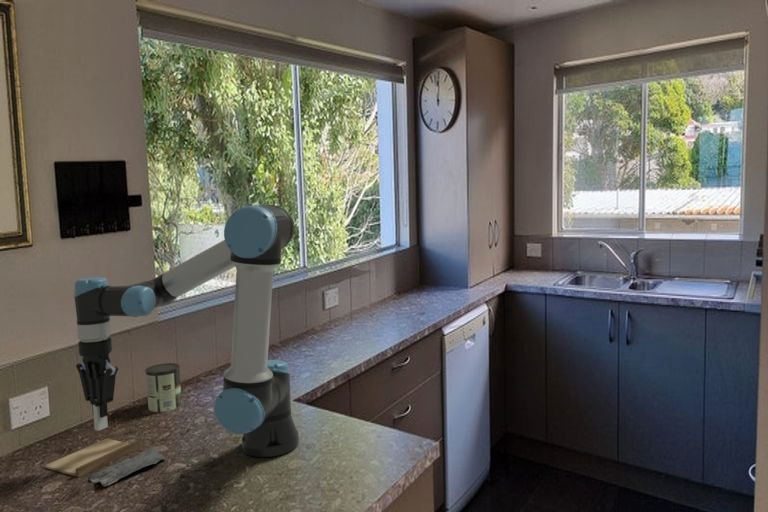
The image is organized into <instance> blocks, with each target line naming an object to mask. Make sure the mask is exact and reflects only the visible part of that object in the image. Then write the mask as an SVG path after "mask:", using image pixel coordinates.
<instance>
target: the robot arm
mask: <svg viewBox="0 0 768 512" xmlns="http://www.w3.org/2000/svg"><path fill="white" fill-rule="evenodd" d="M294 236H295V221H294V218H293V217H292V216H291V214H290V213H289V212H288V211H287V210H286V209H285V208H283V207H281V206H279V205H275V204H274V205H272V204H271V205H270V204H267V205H262V204H261V205H258V204H249V205H246V206H243V207H240V208H238V209H236V210H235V211H233V213H231V214H230V216H229V217H228V218H227V220H226V222H225V225H224V230H223V238H224V239H223V240H221V241H219V242H218V243H216V244H214V245H213V246H210V247H209V248H207V249H205V250H204V251H201V252H200V253H198V254H196V255H194V256H192V257H190V258H189V259H187V260H185V261H183V262H181V263H179V264H178V265H176V266H174V267H172V268H170V269H169V270H166V271H165V272H163V273H162V274H159V275H158V276H156V277H154V278H152V279H150V280H146V281H142V282H138V283H134V284H129V285H118V286H117V285H109V283H108V279H107V278H105V277H102V276H101V277H100V276H99V277H96V276H94V277H93V276H92V277H84V278H78V279H77V280H75V282H74V295H73V298H74V307H75V315H76V332H77V339H78V340H79V341H78V342H77V345H78V355H79V356H80V357H82V361H81V362H80V363H77V364H76V366H75V368H76V370H77V371H78V373H79V378H80V382H81V386H82V391H83V395H84V399H85V401H86V402H89V403H90V404H91V406H92V408H91V409H92V415H93V424H94V425H93V426H94V431H101V430H104V429H107V428H109V426H108V425H109V423H108V415H109V413H108V403H111V402H113V401H114V395H115V388H116V387H115V385H116V376H117V373H118V372H119V367H118V366H117V365H116V366H114V365H112V364H111V359H110V356H109V354H110V353H111V352H112V351H113V345H112V338H111V337H110V336H111V323H110V322H111V319H110V317H133V318H137V317H146V316H149V315H150V314H152V312H153V311H154V310H155V309H156V308H158V307H165V306H167V305H169V304H172V303H173V302H174V301H175V300H176V299H178V298H179V297H181V296H182V295H185V294H187V293H188V292H190V291H192V290H194V289H196V288H198V287H200V286H201V285H203V284H205V283H208V282H209V281H211V280H212V279H215V278H217V277H219V276H221V275H222V274H224V273H227V272H228V271H230V270H232V269H233V268H235V269H236V274H235V276H236V277H235V291H234V309H233V322H232V323H233V324H232V325H233V326H232V342H231V359H230V367H228V368H227V369H226V370H225V371H224V373H223V382H222V383H223V384H222V391H221V392H220V393H218V395H217V398H216V399H215V402H214V405H213V408H214V409H213V410H214V415H215V418H216V419H217V421H218V423H219V424H221V425H222V427H223V428H224V429H225V430H227V431H228V432H230V433H233V434H238V435H242V438H241V450H242V452H243V453H244V454H246V455H248V456H251V457H257V458H259V457H260V458H269V457H277V456H281V455H284V454H287V453H289V452H292V451H293V450H295V449H296V448H297V447H298V446H299V443H300V438H299V437H300V436H299V435H300V434H299V432H298V430H297V428H296V425H295V422H294V419H293V416H292V405H291V404H292V403H291V402H292V401H291V399H292V398H291V397H292V396H291V372H290V366H289V364H288V362H286V361H284V360H280V359H268V358H269V357H268V356H269V342H270V341H269V340H270V332H271V331H270V327H271V326H270V325H271V313H272V296H273V285H274V282H273V281H274V272H275V269H277V268H278V267H279V266H280V265H281V263H282V261H281V260H282V250H283V249H284V248H286V247H287V246H288V245H290V243H291V241H293V238H294Z"/></svg>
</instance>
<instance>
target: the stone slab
mask: <svg viewBox="0 0 768 512" xmlns="http://www.w3.org/2000/svg"><path fill="white" fill-rule="evenodd" d="M161 460H163V461H165V460H166V458H165V456H164V455H163V454H161V452H159V451H158V450H157V449H156V447H155V446H150V447H149V448H147V449H145V450H143V451H142V452H140V453H138V454H136V455H135V456H133V457H131V458H126V459H124V460H122V461H121V462H118V463H115V464H112V465H110V466H108V467H106V468H103V469H101V470H99V471H98V472H95V473H94V474H91V475H90V477H89V481H90V482H91V483H92V484H97V483H100V485H101V486H102V487H104V488H105V487H108V486H110V485H112V484H113V483H116V482H118V481H119V480H121V479H122V478H125V477H127V476H129V475H130V474H132V473H134V472H136V471H139V470H141V469H143V468H145V467H148V466H150V465H157V464H158V462H160V461H161Z"/></svg>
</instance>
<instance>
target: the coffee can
mask: <svg viewBox="0 0 768 512" xmlns="http://www.w3.org/2000/svg"><path fill="white" fill-rule="evenodd" d="M180 366H181V365H180V364H178V363H174V362H172V363H171V362H169V363H168V362H166V363H160V364H159V363H158V364H153V365H151V366H149V367H146V368H145V370H144V371H145V378H146V390H147V391H146V393H147V407H148V411H150V412H154V413H164V412H169V411H173V410H175V409H178V408H179V407H180V406H182V402H183V401H182V389H181V373H180V372H181V370H180Z"/></svg>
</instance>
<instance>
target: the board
mask: <svg viewBox="0 0 768 512" xmlns="http://www.w3.org/2000/svg"><path fill="white" fill-rule="evenodd" d="M139 449H140V440H134V441H132V442H130V443H128V442H124V441H119V440H115V439H112V438H111V439H110V438H104V439H102V440H100V441H98V442H96V443H93V444H91V445H88V446H86V447H83V448H81V449H79V450H77V451H75V452H73V453H69V454H67V455H65V456H63V457H60V458H59V459H56V460H53V461H51V462H50V463H47V464H44V468H45V469H49V470H52V471H55V472H59V473H63V474H65V475H66V474H67V475H69V476H73V477H76V478H80V477H83V476H85V475H86V474H88V473H90V472H93V471H95V470H96V469H99V468H101V467H103V466H105V465H108V464H109V463H111V462H114V461H115V460H118V459H120V458H122V457H124V456H126V455H128V454H130V453H132V452H134V451H137V450H139Z"/></svg>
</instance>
